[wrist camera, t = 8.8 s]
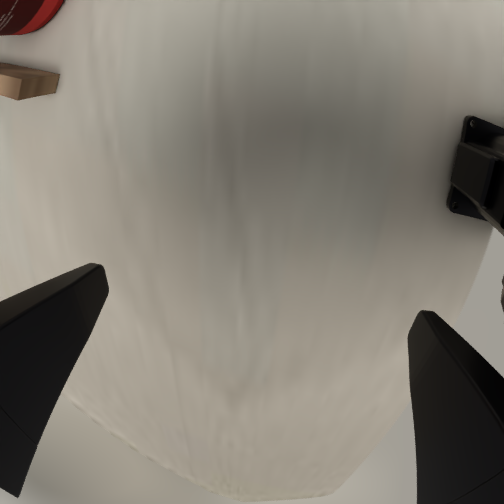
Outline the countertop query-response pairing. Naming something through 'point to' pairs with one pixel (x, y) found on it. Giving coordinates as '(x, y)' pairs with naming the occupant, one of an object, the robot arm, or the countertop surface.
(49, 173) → the countertop surface
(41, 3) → the canned food
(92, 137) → the countertop surface
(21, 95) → the cradle
